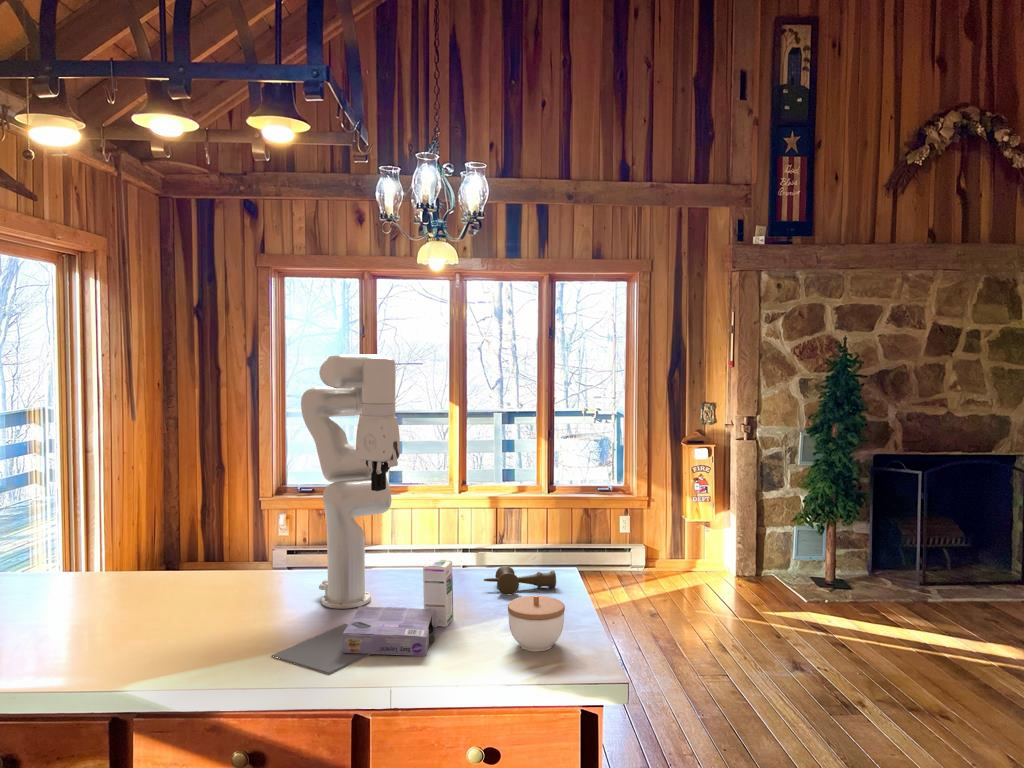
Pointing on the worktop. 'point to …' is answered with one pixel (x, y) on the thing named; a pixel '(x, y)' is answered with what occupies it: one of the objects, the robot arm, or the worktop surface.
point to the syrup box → (439, 590)
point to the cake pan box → (389, 631)
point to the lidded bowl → (536, 621)
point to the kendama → (520, 580)
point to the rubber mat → (321, 652)
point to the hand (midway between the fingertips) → (378, 489)
